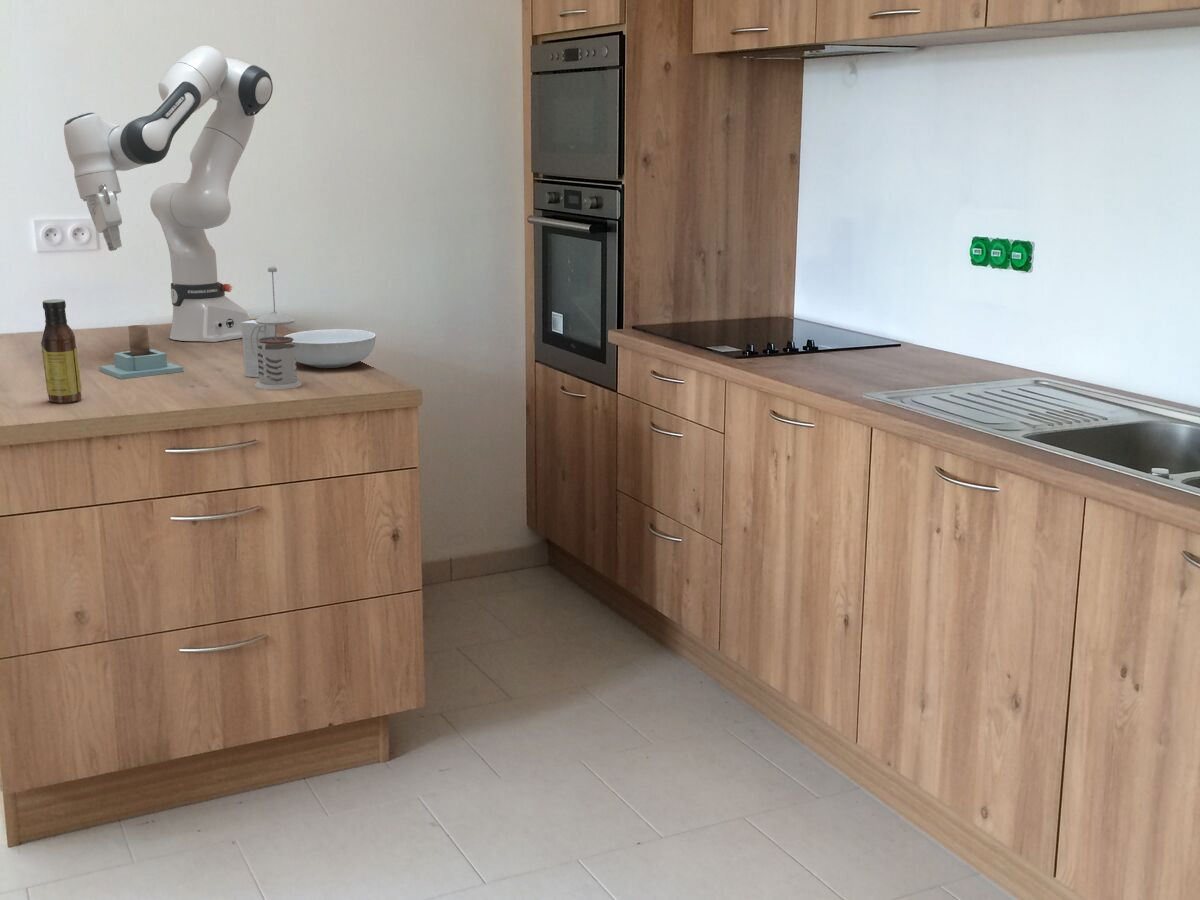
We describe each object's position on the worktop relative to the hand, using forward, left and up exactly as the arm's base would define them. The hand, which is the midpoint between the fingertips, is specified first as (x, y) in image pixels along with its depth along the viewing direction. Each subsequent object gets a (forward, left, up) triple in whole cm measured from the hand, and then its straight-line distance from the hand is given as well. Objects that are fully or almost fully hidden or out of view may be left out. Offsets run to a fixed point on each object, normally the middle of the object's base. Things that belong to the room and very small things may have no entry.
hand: (115, 249), depth 277 cm
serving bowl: (-35, +33, -26) cm, 55 cm away
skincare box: (-16, +36, -26) cm, 47 cm away
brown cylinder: (+2, +15, -25) cm, 29 cm away
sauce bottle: (+26, +36, -26) cm, 52 cm away
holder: (+2, +15, -26) cm, 30 cm away
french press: (-14, +46, -26) cm, 55 cm away
